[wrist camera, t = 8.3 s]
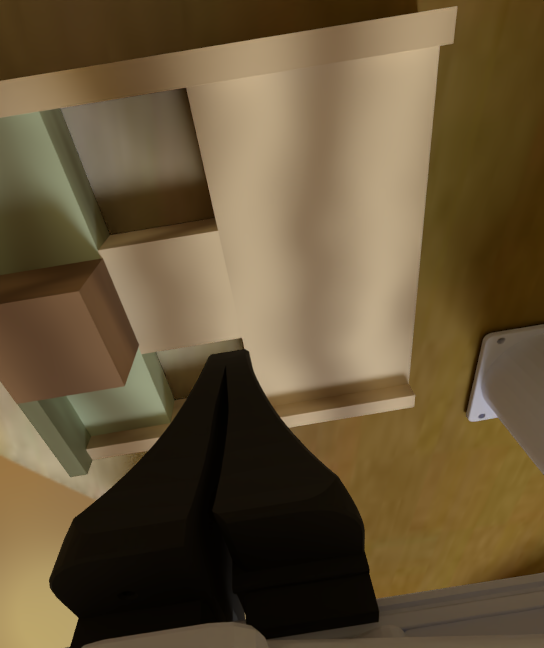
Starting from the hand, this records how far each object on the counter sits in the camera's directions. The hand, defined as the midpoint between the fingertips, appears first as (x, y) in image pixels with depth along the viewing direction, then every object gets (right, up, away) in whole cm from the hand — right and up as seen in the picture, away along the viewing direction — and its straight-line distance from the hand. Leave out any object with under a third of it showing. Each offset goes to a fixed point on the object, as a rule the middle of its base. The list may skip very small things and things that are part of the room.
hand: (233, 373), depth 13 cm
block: (-8, +2, +5) cm, 10 cm away
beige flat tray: (-1, +5, +7) cm, 8 cm away
